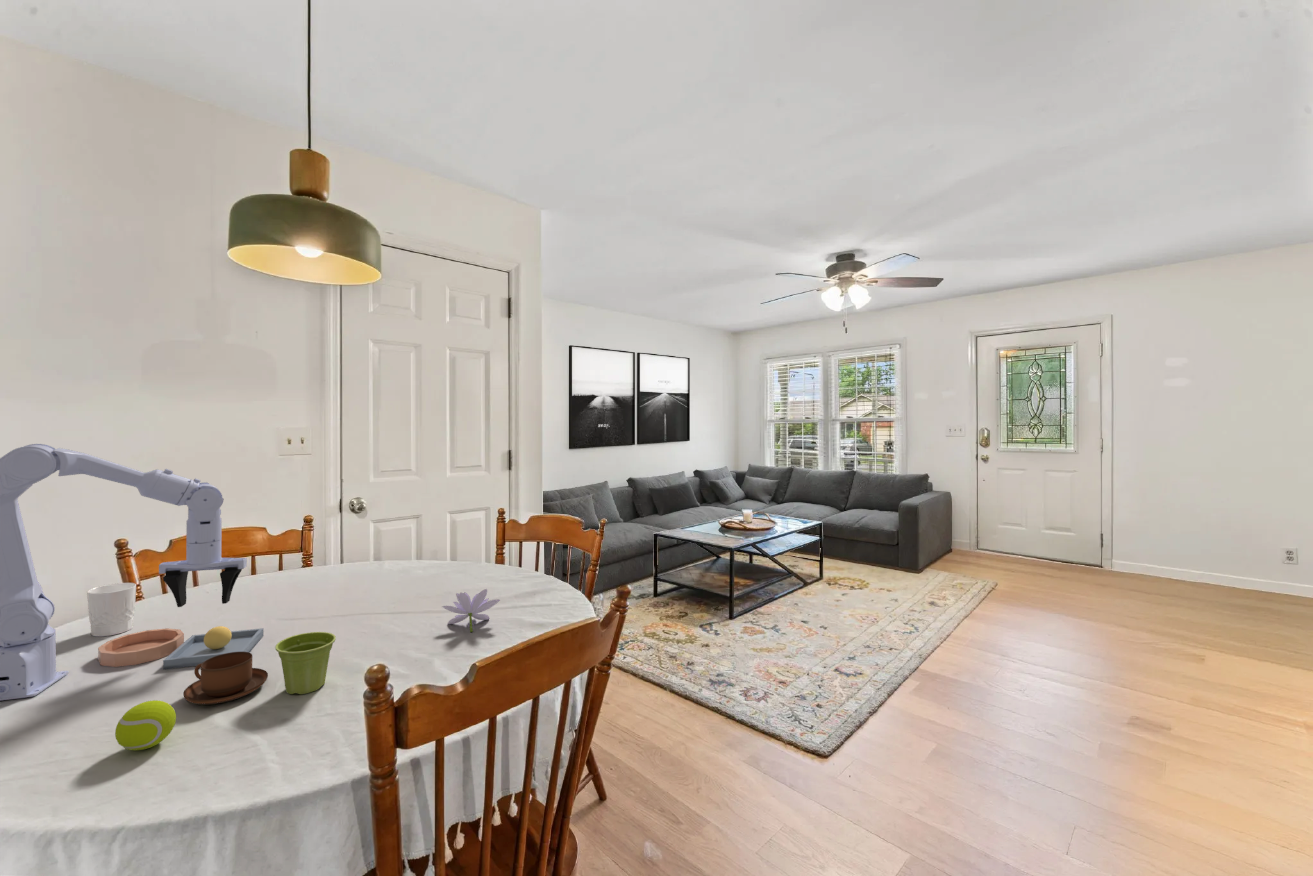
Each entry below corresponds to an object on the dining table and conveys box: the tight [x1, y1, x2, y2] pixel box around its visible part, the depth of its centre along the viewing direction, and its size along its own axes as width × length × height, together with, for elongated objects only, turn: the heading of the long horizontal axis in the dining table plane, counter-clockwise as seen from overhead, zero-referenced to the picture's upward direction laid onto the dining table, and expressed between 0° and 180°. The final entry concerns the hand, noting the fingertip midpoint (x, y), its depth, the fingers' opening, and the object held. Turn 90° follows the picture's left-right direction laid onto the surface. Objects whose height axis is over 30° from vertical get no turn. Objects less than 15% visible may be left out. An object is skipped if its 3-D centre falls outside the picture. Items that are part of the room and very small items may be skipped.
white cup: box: [86, 582, 137, 637], centre depth 123 cm, size 8×8×10 cm
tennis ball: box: [114, 699, 177, 751], centre depth 81 cm, size 7×7×7 cm
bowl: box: [97, 627, 185, 668], centre depth 112 cm, size 13×13×3 cm
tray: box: [162, 627, 265, 670], centre depth 114 cm, size 13×13×2 cm
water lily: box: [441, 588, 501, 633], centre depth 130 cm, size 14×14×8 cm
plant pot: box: [274, 631, 337, 695], centre depth 100 cm, size 9×9×9 cm
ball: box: [204, 625, 232, 649], centre depth 114 cm, size 5×5×5 cm
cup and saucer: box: [183, 652, 269, 705], centre depth 97 cm, size 12×12×6 cm
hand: (204, 603), depth 114 cm, fingers open, 7 cm apart
